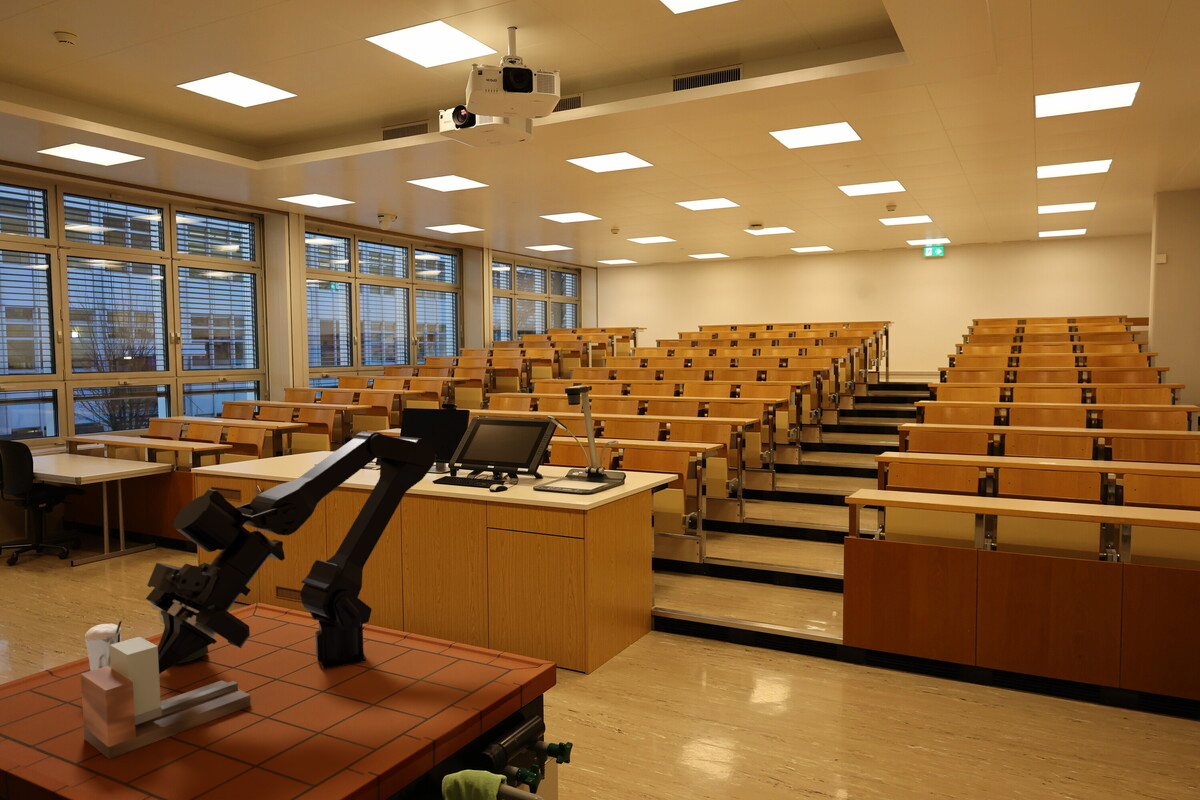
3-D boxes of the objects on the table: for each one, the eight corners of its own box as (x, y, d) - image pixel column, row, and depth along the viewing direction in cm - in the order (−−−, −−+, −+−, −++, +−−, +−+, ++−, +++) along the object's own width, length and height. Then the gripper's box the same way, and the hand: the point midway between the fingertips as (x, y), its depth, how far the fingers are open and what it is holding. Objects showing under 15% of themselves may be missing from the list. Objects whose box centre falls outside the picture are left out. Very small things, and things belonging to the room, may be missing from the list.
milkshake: (111, 694, 111) (107, 626, 110) (80, 691, 112) (76, 624, 111) (136, 681, 115) (133, 615, 114) (106, 678, 116) (102, 613, 116)
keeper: (142, 702, 102) (138, 636, 102) (162, 715, 99) (158, 646, 98) (112, 712, 99) (109, 644, 99) (131, 726, 96) (128, 655, 95)
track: (222, 690, 112) (219, 632, 111) (250, 705, 107) (248, 645, 106) (84, 739, 98) (80, 673, 97) (109, 759, 93) (105, 690, 92)
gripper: (158, 528, 109) (72, 628, 101) (222, 548, 98) (131, 662, 90) (216, 570, 116) (140, 666, 108) (283, 593, 104) (203, 703, 96)
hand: (152, 673), depth 100 cm, fingers closed, pressing on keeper
